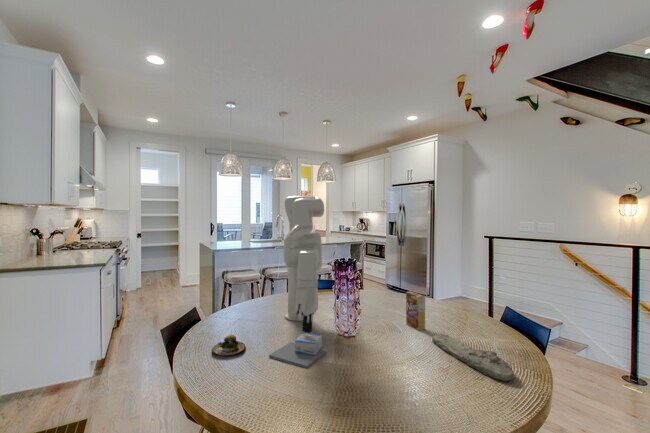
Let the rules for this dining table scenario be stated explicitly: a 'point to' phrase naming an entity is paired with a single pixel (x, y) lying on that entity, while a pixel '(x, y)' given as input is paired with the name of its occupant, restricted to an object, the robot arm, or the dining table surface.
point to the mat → (296, 356)
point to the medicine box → (308, 343)
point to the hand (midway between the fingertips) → (307, 331)
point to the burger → (229, 346)
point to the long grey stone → (476, 358)
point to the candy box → (415, 310)
